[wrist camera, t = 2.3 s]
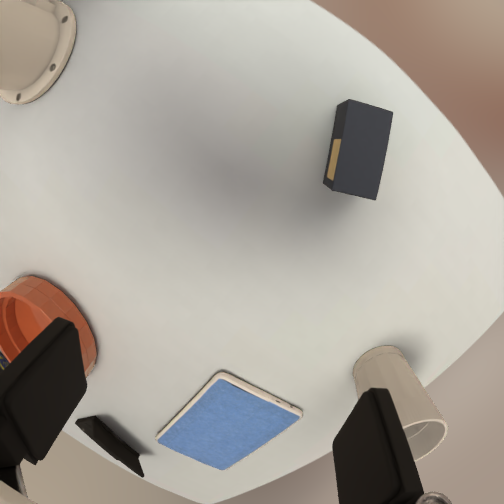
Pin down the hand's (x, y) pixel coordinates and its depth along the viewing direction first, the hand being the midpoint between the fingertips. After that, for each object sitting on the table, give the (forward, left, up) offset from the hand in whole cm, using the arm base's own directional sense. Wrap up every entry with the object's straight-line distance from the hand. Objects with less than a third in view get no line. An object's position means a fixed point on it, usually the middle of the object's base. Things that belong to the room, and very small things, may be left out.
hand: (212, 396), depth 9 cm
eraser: (-8, +7, -20) cm, 23 cm away
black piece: (+39, -17, -20) cm, 47 cm away
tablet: (+28, +1, -20) cm, 34 cm away
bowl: (+18, -24, -20) cm, 36 cm away
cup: (+14, +17, -20) cm, 30 cm away
